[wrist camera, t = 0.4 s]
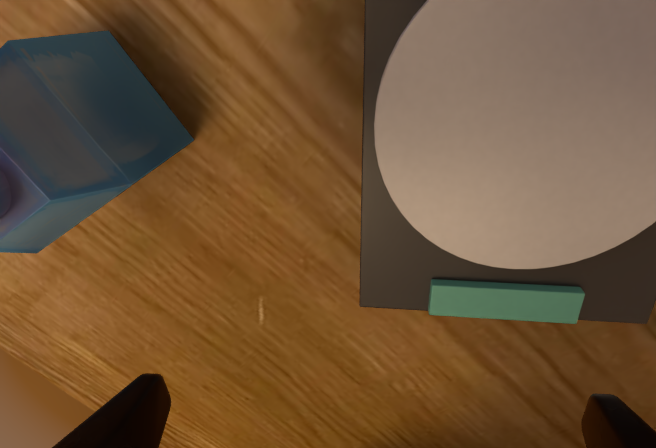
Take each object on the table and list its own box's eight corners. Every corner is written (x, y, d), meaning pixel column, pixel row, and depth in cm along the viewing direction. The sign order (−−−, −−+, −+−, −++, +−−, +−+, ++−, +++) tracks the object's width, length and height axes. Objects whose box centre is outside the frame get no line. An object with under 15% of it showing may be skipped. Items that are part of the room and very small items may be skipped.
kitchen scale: (624, 295, 24) (657, 336, 21) (361, 281, 25) (358, 318, 22) (767, -124, 16) (854, -153, 13) (369, -105, 17) (365, -127, 14)
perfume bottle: (114, 197, 25) (-92, 344, 14) (30, 102, 23) (-282, 190, 12) (194, 140, 23) (22, 261, 12) (108, 30, 21) (-186, 60, 10)
